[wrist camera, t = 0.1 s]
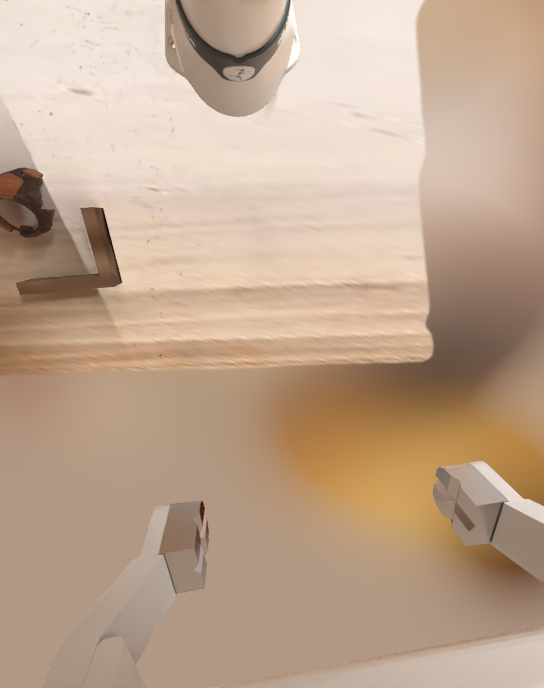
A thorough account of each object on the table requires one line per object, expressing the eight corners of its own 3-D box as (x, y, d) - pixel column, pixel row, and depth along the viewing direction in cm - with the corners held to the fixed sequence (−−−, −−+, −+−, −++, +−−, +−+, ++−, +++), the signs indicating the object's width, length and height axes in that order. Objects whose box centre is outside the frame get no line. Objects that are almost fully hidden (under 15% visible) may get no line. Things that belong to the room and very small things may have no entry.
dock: (6, 214, 51) (-12, 214, 48) (103, 208, 53) (93, 207, 49) (34, 290, 56) (20, 294, 53) (122, 282, 57) (114, 286, 54)
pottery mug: (63, 174, 50) (44, 199, 45) (69, 223, 56) (53, 250, 51) (-29, 144, 45) (-61, 168, 40) (-11, 202, 52) (-37, 228, 47)
